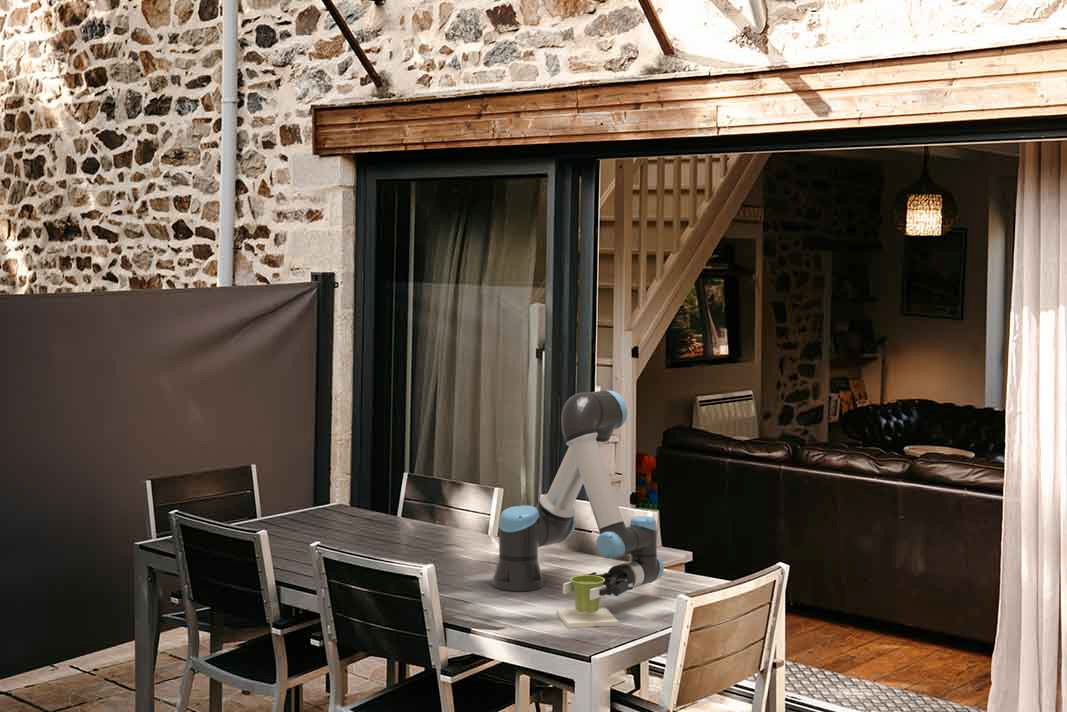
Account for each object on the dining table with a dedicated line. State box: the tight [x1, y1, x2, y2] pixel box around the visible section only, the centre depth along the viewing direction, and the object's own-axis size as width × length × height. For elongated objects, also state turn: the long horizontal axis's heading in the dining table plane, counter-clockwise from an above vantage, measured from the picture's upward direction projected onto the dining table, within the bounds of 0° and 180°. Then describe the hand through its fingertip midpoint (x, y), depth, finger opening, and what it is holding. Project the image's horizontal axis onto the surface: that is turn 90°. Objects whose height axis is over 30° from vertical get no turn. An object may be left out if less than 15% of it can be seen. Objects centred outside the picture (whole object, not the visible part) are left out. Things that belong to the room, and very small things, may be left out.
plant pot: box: [570, 574, 605, 613], centre depth 341 cm, size 9×9×9 cm
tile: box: [556, 607, 619, 629], centre depth 341 cm, size 14×14×1 cm
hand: (577, 591), depth 337 cm, fingers closed on plant pot, 8 cm apart
